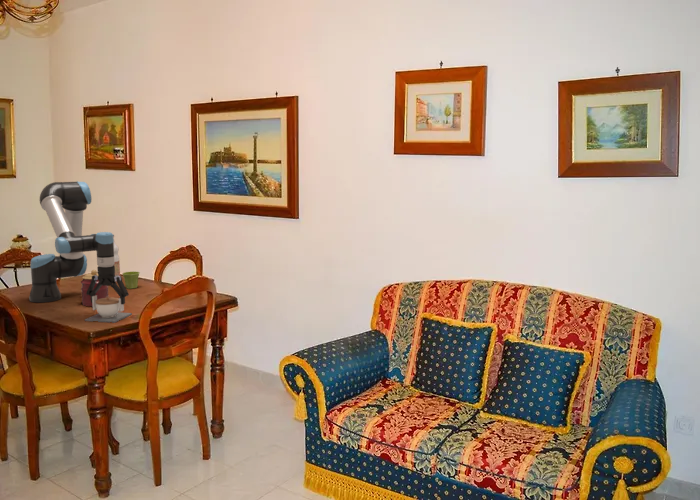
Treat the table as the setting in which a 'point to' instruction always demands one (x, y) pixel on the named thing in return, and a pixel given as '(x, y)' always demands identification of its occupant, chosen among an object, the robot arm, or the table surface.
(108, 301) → the lidded jar
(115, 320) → the slate board
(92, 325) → the table surface
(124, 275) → the plant pot
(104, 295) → the canister
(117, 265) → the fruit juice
